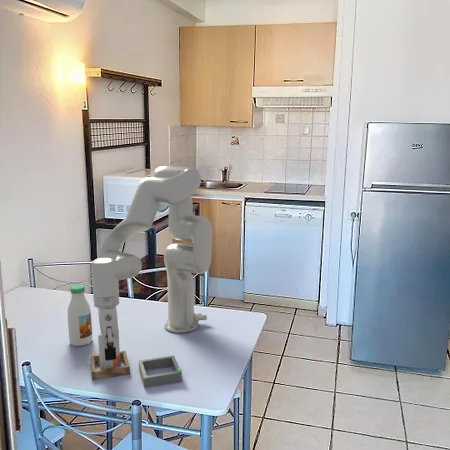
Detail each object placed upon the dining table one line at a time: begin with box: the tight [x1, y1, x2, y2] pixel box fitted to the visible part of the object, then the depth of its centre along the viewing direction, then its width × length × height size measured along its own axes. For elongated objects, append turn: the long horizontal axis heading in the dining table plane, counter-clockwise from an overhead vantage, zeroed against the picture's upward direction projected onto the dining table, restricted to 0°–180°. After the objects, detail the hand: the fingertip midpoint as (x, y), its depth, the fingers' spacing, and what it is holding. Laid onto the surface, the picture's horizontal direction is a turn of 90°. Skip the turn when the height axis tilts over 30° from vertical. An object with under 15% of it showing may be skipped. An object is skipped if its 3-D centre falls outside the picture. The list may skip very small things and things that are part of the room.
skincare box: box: [97, 328, 121, 369], centre depth 148 cm, size 6×4×12 cm
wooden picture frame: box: [89, 350, 131, 381], centre depth 149 cm, size 11×11×2 cm
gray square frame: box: [138, 355, 183, 389], centre depth 144 cm, size 11×11×4 cm
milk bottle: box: [67, 284, 93, 347], centre depth 165 cm, size 8×8×20 cm
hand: (109, 353), depth 148 cm, fingers closed on skincare box, 7 cm apart
